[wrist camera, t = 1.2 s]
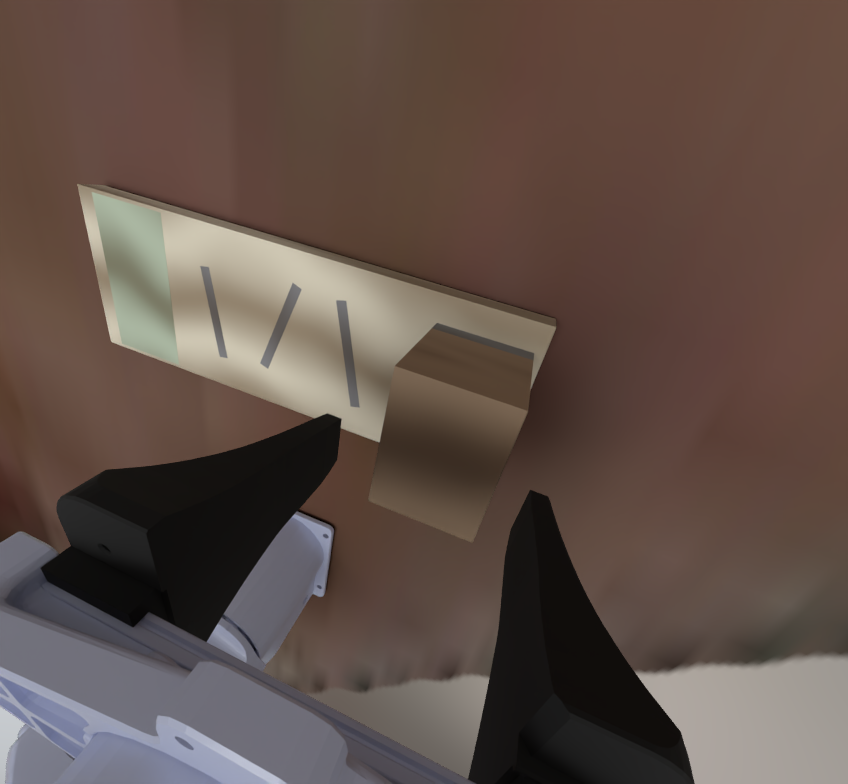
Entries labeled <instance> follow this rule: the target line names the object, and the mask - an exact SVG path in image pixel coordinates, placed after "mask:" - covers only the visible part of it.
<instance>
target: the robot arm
mask: <svg viewBox="0 0 848 784" xmlns="http://www.w3.org/2000/svg"><path fill="white" fill-rule="evenodd" d="M341 420H342V419H341V418H338V417H336V416H333V415H330V414H328V413H327V414H324V415H322V416H319V417H317V418H315V419H313V420H310V421H308V422H306V423H303V424H301V425H299V426H297V427H294V428H292V429H289V430H287V431H285V432H282V433H280V434H277V435H275V436H272V437H269V438H266V439H264V440H261V441H258V442H256V443H253V444H250V445H247V446H244V447H241V448H237V449H234V450H230V451H227V452H223V453H219V454H215V455H210V456H206V457H201V458H196V459H192V460H187V461H181V462H175V463H169V464H161V465H154V466H146V467H135V468H123V469H111V470H105V471H103V472H101V473H100V474H98V475H96V476H95V477H93V478H91V479H90V480H88V481H86V482H85V483H83V484H81V485H80V486H78V487H76V488H75V489H73V490H71V491H70V492H68V493H66V494H65V495H63V496H61V497H60V499H59V500H58V502H57V513H58V517H59V519H60V522H61V524H62V526H63V528H64V531H65V533H66V535H67V538H68V540H69V542H70V544H71V546H70V547H69V548H68V549H66V550H65V551H63V552H62V553H61V554H59V553H58V552H57V551H56V550H55V549H54V548H53V547H51V546H50V545H48V544H46V543H44V542H42V541H40V540H38V539H36V538H34V537H32V536H30V535H29V534H27V533H25V532H17V533H16V534H14V535H12V536H11V537H9V538H8V539H6V540H4V541H3V542H1V543H0V706H1V707H2V708H4V709H5V710H6V711H8V712H9V713H11V714H12V715H14V716H15V717H17V718H18V719H19V720H21V721H22V722H24V723H25V725H24V726H23V727H22V728H21V729H20V731H19V733H18V740H16V741H15V743H14V744H13V745H12V746H11V748H10V750H9V752H8V757H7V763H6V780H5V784H694V779H693V776H692V770H691V766H690V762H689V758H688V754H687V751H686V748H685V745H684V741H683V738H682V735H681V732H680V730H679V729H678V728H677V727H676V726H675V724H674V723H673V722H672V720H671V719H670V718H669V717H668V715H667V714H666V713H665V711H664V710H663V709H662V708H661V707H660V705H659V704H658V703H657V701H656V700H655V699H654V698H653V696H652V695H651V694H650V693H649V691H648V690H647V689H646V687H645V686H644V685H643V683H642V682H641V680H640V679H639V678H638V676H637V675H636V673H635V672H634V671H633V669H632V668H631V667H630V665H629V664H628V662H627V661H626V659H625V658H624V656H623V655H622V653H621V652H620V650H619V649H618V647H617V646H616V644H615V643H614V641H613V639H612V638H611V636H610V635H609V633H608V632H607V630H606V628H605V627H604V625H603V624H602V622H601V620H600V618H599V617H598V615H597V613H596V612H595V610H594V608H593V606H592V604H591V602H590V600H589V598H588V597H587V595H586V593H585V591H584V589H583V586H582V584H581V582H580V580H579V578H578V576H577V574H576V571H575V569H574V567H573V565H572V562H571V560H570V557H569V555H568V552H567V550H566V547H565V545H564V542H563V539H562V537H561V534H560V531H559V528H558V525H557V522H556V519H555V516H554V513H553V510H552V506H551V503H550V500H549V498H548V496H545V495H542V494H540V493H537V492H534V491H532V490H530V491H529V493H528V496H527V498H526V500H525V502H524V504H523V506H522V508H521V510H520V512H519V514H518V516H517V518H516V520H515V522H514V524H513V526H512V528H511V531H510V536H509V541H508V545H507V550H506V555H505V564H504V575H503V586H502V598H501V610H500V621H499V629H498V636H497V642H496V647H495V653H494V658H493V663H492V669H491V674H490V679H489V684H488V690H487V694H486V699H485V704H484V709H483V714H482V719H481V723H480V728H479V733H478V737H477V742H476V746H475V751H474V755H473V760H472V764H471V769H470V773H469V778H468V779H466V778H464V777H462V776H460V775H459V774H457V773H455V772H453V771H451V770H449V769H447V768H445V767H443V766H441V765H440V764H438V763H435V762H434V761H432V760H430V759H428V758H426V757H424V756H422V755H420V754H419V753H416V752H415V751H413V750H411V749H409V748H407V747H405V746H403V745H401V744H400V743H398V742H395V741H394V740H392V739H390V738H388V737H386V736H384V735H382V734H380V733H379V732H377V731H375V730H373V729H371V728H369V727H367V726H365V725H363V724H361V723H360V722H358V721H356V720H354V719H352V718H350V717H348V716H346V715H344V714H342V713H340V712H338V711H337V710H335V709H333V708H331V707H329V706H327V705H325V704H323V703H321V702H319V701H318V700H316V699H314V698H312V697H310V696H308V695H306V694H304V693H302V692H300V691H299V690H297V689H295V688H293V687H291V686H289V685H287V684H285V683H283V682H281V681H279V680H278V679H276V678H274V677H272V676H270V675H268V674H266V673H264V672H262V671H263V670H264V668H265V666H266V663H268V662H269V661H270V660H271V659H272V657H273V656H274V655H275V654H276V652H277V651H278V649H279V647H280V646H281V644H282V643H283V641H284V639H285V638H286V636H287V634H288V633H289V631H290V630H291V628H292V626H293V625H294V623H295V621H296V620H297V618H298V617H299V615H300V613H301V612H302V610H303V608H304V607H305V605H306V604H307V602H308V600H309V599H310V597H311V595H312V594H314V595H317V596H319V597H322V596H323V595H324V594H325V591H326V583H327V576H328V569H329V562H330V555H331V548H332V541H333V534H334V529H333V527H332V526H330V525H328V524H326V523H324V522H321V521H319V520H317V519H314V518H312V517H309V516H307V515H305V514H302V513H300V512H298V509H299V508H300V507H301V506H302V505H303V504H304V503H305V501H306V500H307V499H308V498H309V497H310V496H311V495H312V493H313V492H314V491H315V490H316V489H317V488H318V486H319V485H320V484H321V483H322V482H323V480H324V479H325V477H326V476H327V474H328V473H329V472H330V470H331V468H332V467H333V465H334V464H335V462H336V461H337V456H338V447H339V438H340V429H341Z"/></svg>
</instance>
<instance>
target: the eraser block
mask: <svg viewBox="0 0 848 784" xmlns="http://www.w3.org/2000/svg"><path fill="white" fill-rule="evenodd" d="M533 360H534V353H532V352H529V351H526V350H523V349H519V348H516V347H513V346H510V345H507V344H503V343H500V342H497V341H494V340H491V339H487V338H484V337H481V336H478V335H475V334H471V333H468V332H465V331H462V330H459V329H455V328H452V327H449V326H446V325H443V324H439V323H436V324H435V325H434V326H433V327H432V328H431V329H430V330H429V331H428V332H427V333H426V335H425V336H424V337H423V338H422V339H421V340H420V341H419V342H418V343H417V344H416V345H415V346H414V347H413V348H412V349H411V350H410V351H409V352H408V353H407V354H406V355H405V356H404V357H403V358H402V359H401V360H400V361H399V362H398V363H397V364H396V365H395V367H394V372H393V377H392V382H391V387H390V392H389V397H388V402H387V407H386V412H385V418H384V423H383V428H382V433H381V438H380V443H379V448H378V453H377V458H376V463H375V468H374V473H373V478H372V483H371V489H370V494H369V499H368V501H370V502H372V503H375V504H377V505H380V506H382V507H385V508H387V509H390V510H392V511H395V512H397V513H400V514H402V515H405V516H407V517H410V518H412V519H415V520H417V521H419V522H422V523H424V524H427V525H429V526H432V527H434V528H437V529H439V530H442V531H444V532H447V533H449V534H452V535H454V536H457V537H459V538H462V539H464V540H466V541H469V542H471V543H473V540H474V538H475V536H476V533H477V531H478V528H479V526H480V524H481V521H482V519H483V517H484V514H485V512H486V510H487V507H488V505H489V502H490V500H491V498H492V495H493V493H494V491H495V488H496V486H497V484H498V481H499V479H500V476H501V474H502V472H503V469H504V467H505V465H506V462H507V460H508V458H509V455H510V453H511V450H512V448H513V446H514V443H515V441H516V439H517V436H518V434H519V432H520V429H521V427H522V424H523V422H524V420H525V417H526V415H527V413H528V408H529V398H530V389H531V379H532V370H533Z"/></svg>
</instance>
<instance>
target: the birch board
mask: <svg viewBox="0 0 848 784" xmlns="http://www.w3.org/2000/svg"><path fill="white" fill-rule="evenodd" d="M77 185H78V190H79V194H80V199H81V204H82V208H83V213H84V218H85V222H86V227H87V232H88V236H89V241H90V245H91V250H92V255H93V259H94V264H95V269H96V273H97V278H98V283H99V287H100V292H101V297H102V301H103V306H104V310H105V315H106V320H107V324H108V329H109V334H110V338H111V342H113V343H116V344H118V345H121V346H124V347H126V348H129V349H132V350H134V351H137V352H140V353H142V354H145V355H148V356H150V357H153V358H156V359H158V360H161V361H164V362H166V363H169V364H172V365H174V366H177V367H180V368H182V369H185V370H188V371H190V372H193V373H196V374H198V375H201V376H204V377H206V378H209V379H212V380H214V381H217V382H220V383H222V384H225V385H228V386H230V387H233V388H236V389H238V390H241V391H244V392H246V393H249V394H252V395H254V396H257V397H259V398H262V399H265V400H267V401H270V402H273V403H275V404H278V405H281V406H283V407H286V408H289V409H291V410H294V411H297V412H299V413H302V414H305V415H307V416H310V417H313V418H317V417H319V416H322V415H324V414H327V413H328V414H330V415H333V416H336V417H338V418H341V419H342V420H341V428H342V429H345V430H347V431H350V432H353V433H355V434H358V435H361V436H363V437H366V438H369V439H371V440H374V441H377V442H379V443H380V438H381V433H382V428H383V423H384V418H385V412H386V407H387V402H388V397H389V392H390V387H391V382H392V377H393V372H394V367H395V365H396V364H397V363H398V362H399V361H400V360H401V359H402V358H403V357H404V356H405V355H406V354H407V353H408V352H409V351H410V350H411V349H412V348H413V347H414V346H415V345H416V344H417V343H418V342H419V341H420V340H421V339H422V338H423V337H424V336H425V335H426V333H427V332H428V331H429V330H430V329H431V328H432V327H433V326H434V325H435V324H436V323H439V324H443V325H446V326H449V327H452V328H455V329H459V330H462V331H465V332H468V333H471V334H475V335H478V336H481V337H484V338H487V339H491V340H494V341H497V342H500V343H503V344H507V345H510V346H513V347H516V348H519V349H523V350H526V351H529V352H532V353H534V360H533V370H532V379H531V388H532V385H533V383H534V380H535V378H536V376H537V373H538V371H539V368H540V366H541V363H542V361H543V359H544V356H545V354H546V351H547V349H548V346H549V344H550V342H551V339H552V337H553V334H554V332H555V330H556V319H554V318H551V317H547V316H544V315H541V314H537V313H534V312H530V311H527V310H524V309H520V308H517V307H514V306H510V305H507V304H503V303H500V302H497V301H493V300H490V299H487V298H483V297H480V296H476V295H473V294H470V293H466V292H463V291H459V290H456V289H453V288H449V287H446V286H443V285H439V284H436V283H432V282H429V281H426V280H422V279H419V278H416V277H412V276H409V275H405V274H402V273H399V272H395V271H392V270H389V269H385V268H382V267H378V266H375V265H372V264H368V263H365V262H361V261H358V260H355V259H351V258H348V257H345V256H341V255H338V254H334V253H331V252H328V251H324V250H321V249H318V248H314V247H311V246H307V245H304V244H301V243H297V242H294V241H291V240H287V239H284V238H280V237H277V236H274V235H270V234H267V233H264V232H260V231H257V230H253V229H250V228H247V227H243V226H240V225H236V224H233V223H230V222H226V221H223V220H220V219H216V218H213V217H209V216H206V215H203V214H199V213H196V212H193V211H189V210H186V209H182V208H179V207H176V206H172V205H169V204H166V203H162V202H159V201H155V200H152V199H149V198H145V197H142V196H138V195H135V194H132V193H128V192H125V191H122V190H118V189H115V188H111V187H108V186H105V185H89V184H77ZM530 390H531V389H530Z"/></svg>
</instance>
